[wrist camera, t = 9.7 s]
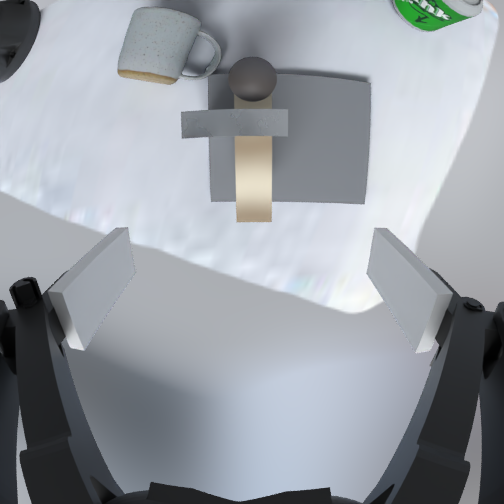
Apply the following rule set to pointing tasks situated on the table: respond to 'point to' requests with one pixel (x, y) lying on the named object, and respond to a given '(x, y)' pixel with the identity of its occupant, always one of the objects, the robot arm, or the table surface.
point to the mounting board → (304, 140)
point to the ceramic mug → (162, 46)
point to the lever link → (253, 140)
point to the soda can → (436, 12)
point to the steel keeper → (234, 123)
